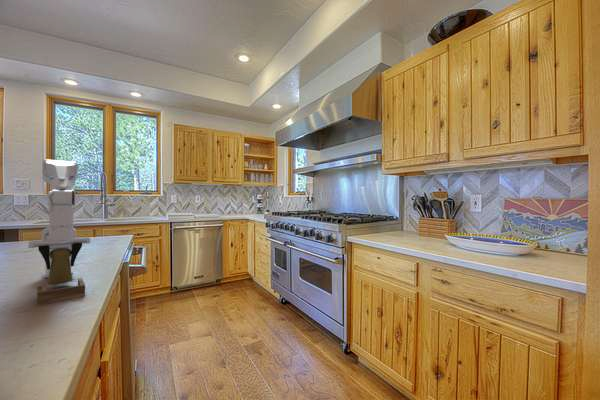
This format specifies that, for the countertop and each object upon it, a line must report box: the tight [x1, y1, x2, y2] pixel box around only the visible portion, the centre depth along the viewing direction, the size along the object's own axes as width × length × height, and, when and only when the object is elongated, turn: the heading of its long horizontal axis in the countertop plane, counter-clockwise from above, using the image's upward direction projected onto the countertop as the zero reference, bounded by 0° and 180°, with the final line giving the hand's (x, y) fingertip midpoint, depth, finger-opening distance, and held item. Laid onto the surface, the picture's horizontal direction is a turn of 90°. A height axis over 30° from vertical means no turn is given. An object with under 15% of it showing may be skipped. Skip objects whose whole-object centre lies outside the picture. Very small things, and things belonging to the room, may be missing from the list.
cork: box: [46, 248, 73, 286], centre depth 82 cm, size 6×6×11 cm
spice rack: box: [36, 277, 86, 306], centre depth 75 cm, size 10×10×3 cm
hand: (60, 267), depth 82 cm, fingers closed on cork, 5 cm apart
